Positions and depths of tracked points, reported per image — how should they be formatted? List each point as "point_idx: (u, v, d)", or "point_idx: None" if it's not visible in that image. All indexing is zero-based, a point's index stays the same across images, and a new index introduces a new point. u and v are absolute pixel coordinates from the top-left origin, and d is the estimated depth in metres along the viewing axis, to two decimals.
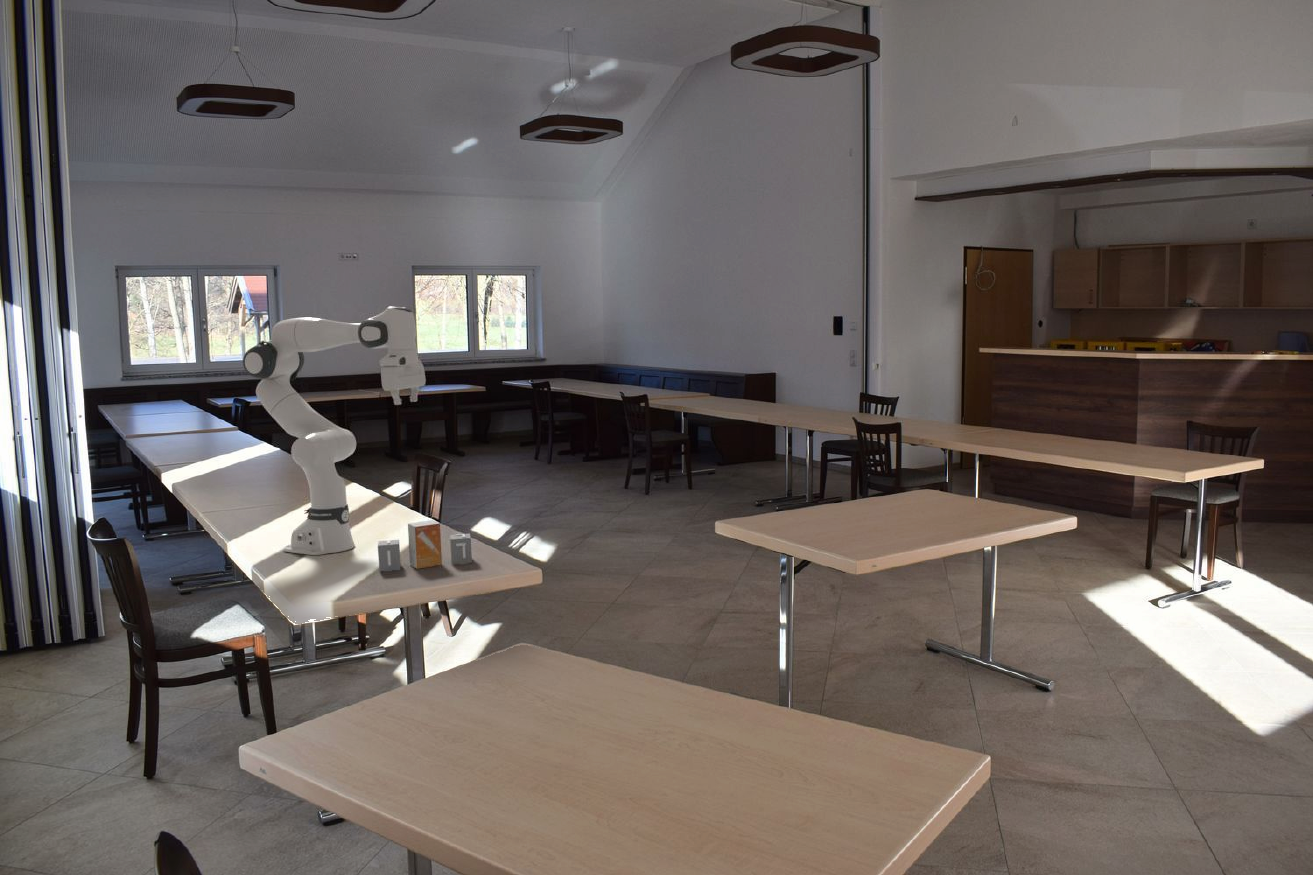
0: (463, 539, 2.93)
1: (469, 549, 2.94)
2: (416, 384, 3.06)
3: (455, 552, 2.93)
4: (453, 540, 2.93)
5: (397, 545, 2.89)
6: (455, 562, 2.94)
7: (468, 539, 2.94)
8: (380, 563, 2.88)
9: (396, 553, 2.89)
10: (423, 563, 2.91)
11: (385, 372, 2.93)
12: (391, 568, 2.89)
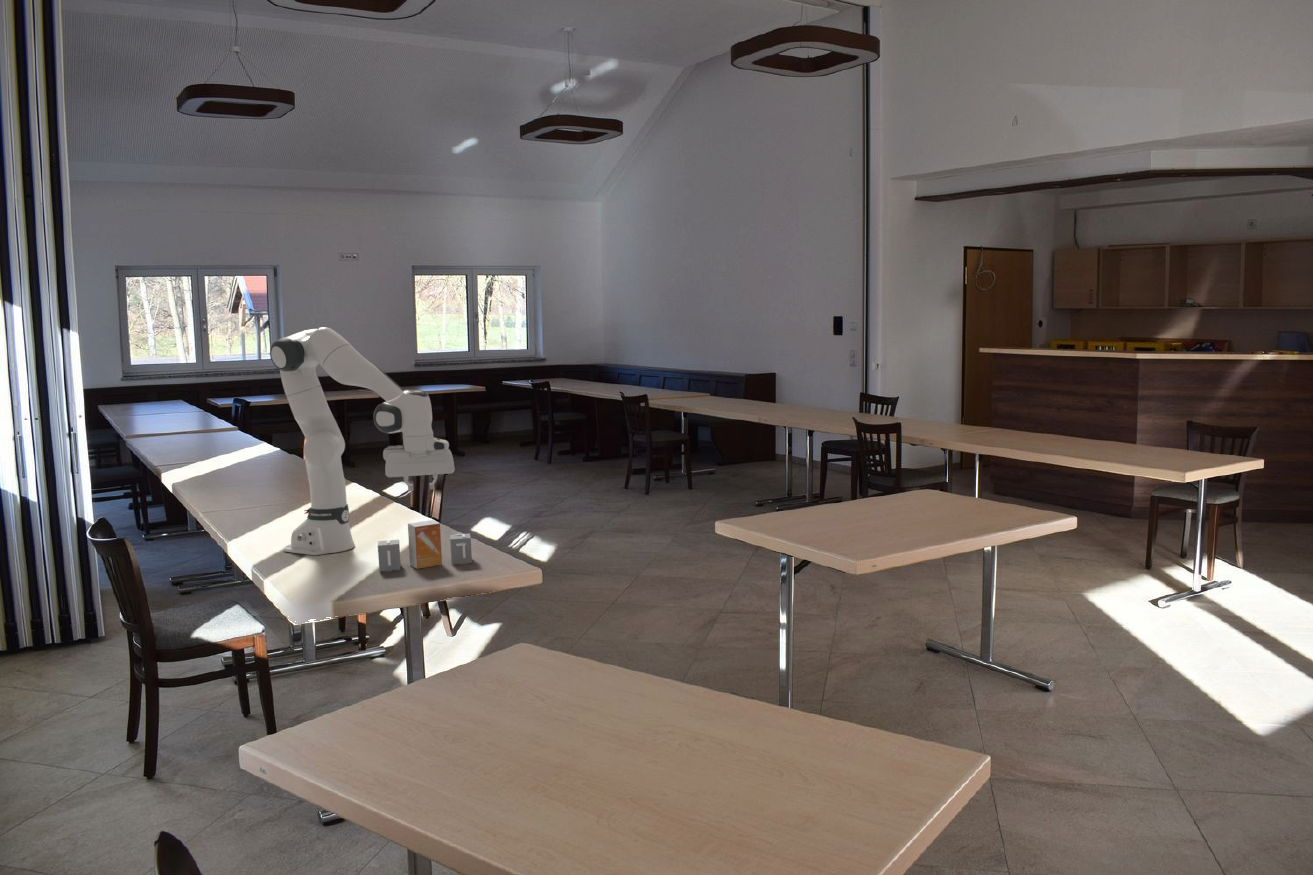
0: (463, 539, 2.93)
1: (469, 549, 2.94)
2: None
3: (455, 552, 2.93)
4: (453, 540, 2.93)
5: (397, 545, 2.89)
6: (455, 562, 2.94)
7: (468, 539, 2.94)
8: (380, 563, 2.88)
9: (396, 553, 2.89)
10: (423, 563, 2.91)
11: None
12: (391, 568, 2.89)
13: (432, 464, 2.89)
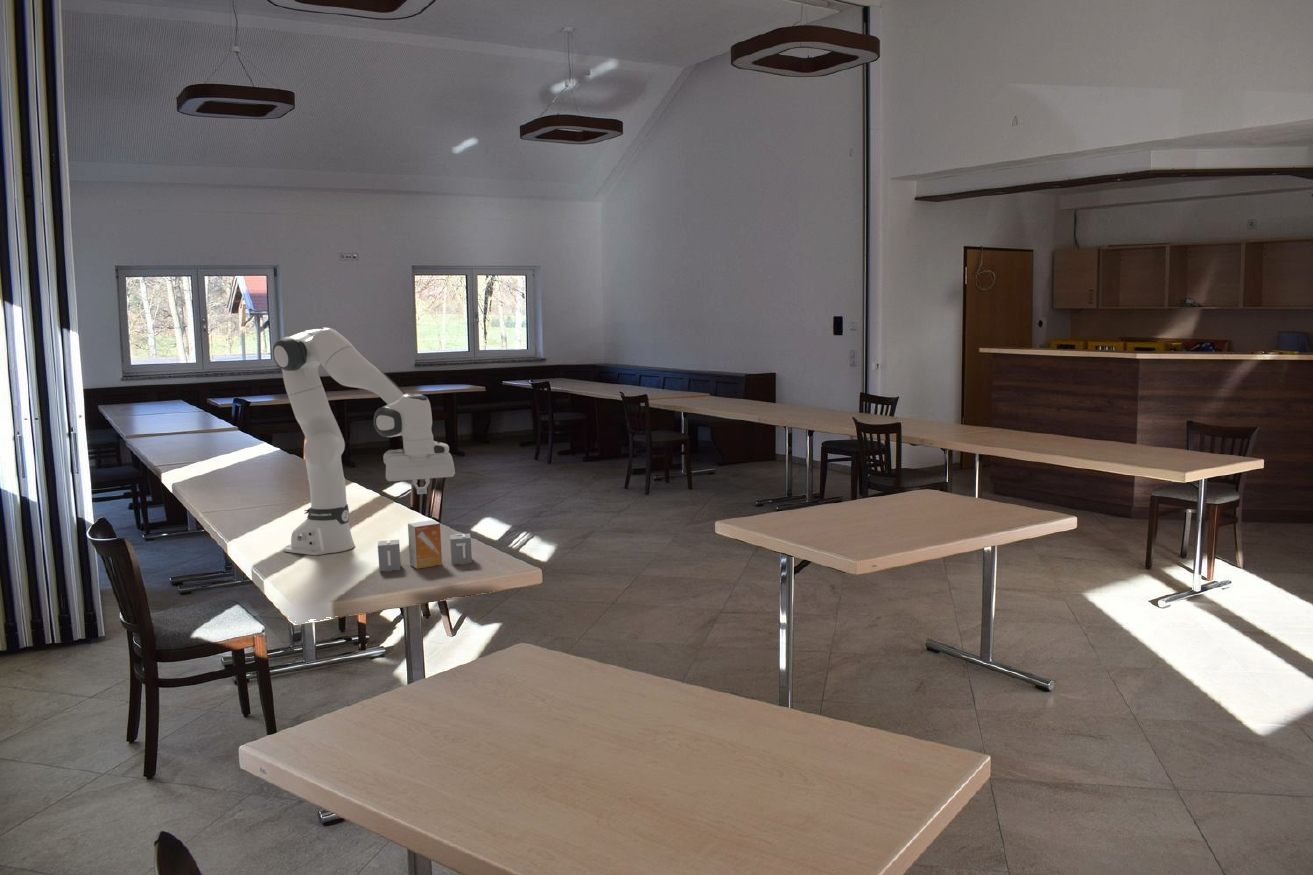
0: (463, 539, 2.93)
1: (469, 549, 2.94)
2: None
3: (455, 552, 2.93)
4: (453, 540, 2.93)
5: (397, 545, 2.89)
6: (455, 562, 2.94)
7: (468, 539, 2.94)
8: (380, 563, 2.88)
9: (396, 553, 2.89)
10: (423, 563, 2.91)
11: None
12: (391, 568, 2.89)
13: (432, 468, 2.90)
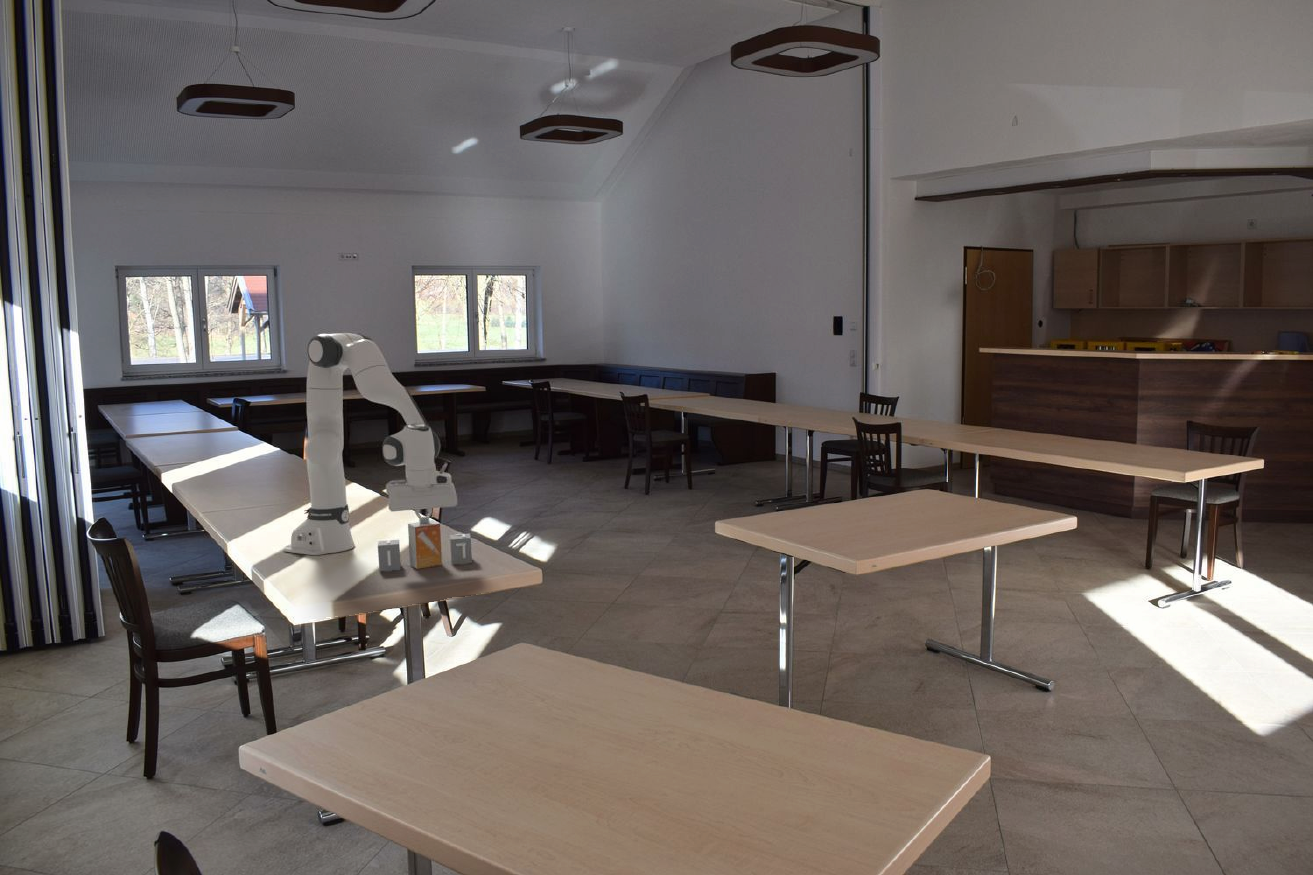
0: (463, 539, 2.93)
1: (469, 549, 2.94)
2: None
3: (455, 552, 2.93)
4: (453, 540, 2.93)
5: (397, 545, 2.89)
6: (455, 562, 2.94)
7: (468, 539, 2.94)
8: (380, 563, 2.88)
9: (396, 553, 2.89)
10: (423, 564, 2.91)
11: (454, 487, 2.93)
12: (391, 568, 2.89)
13: (434, 498, 2.91)
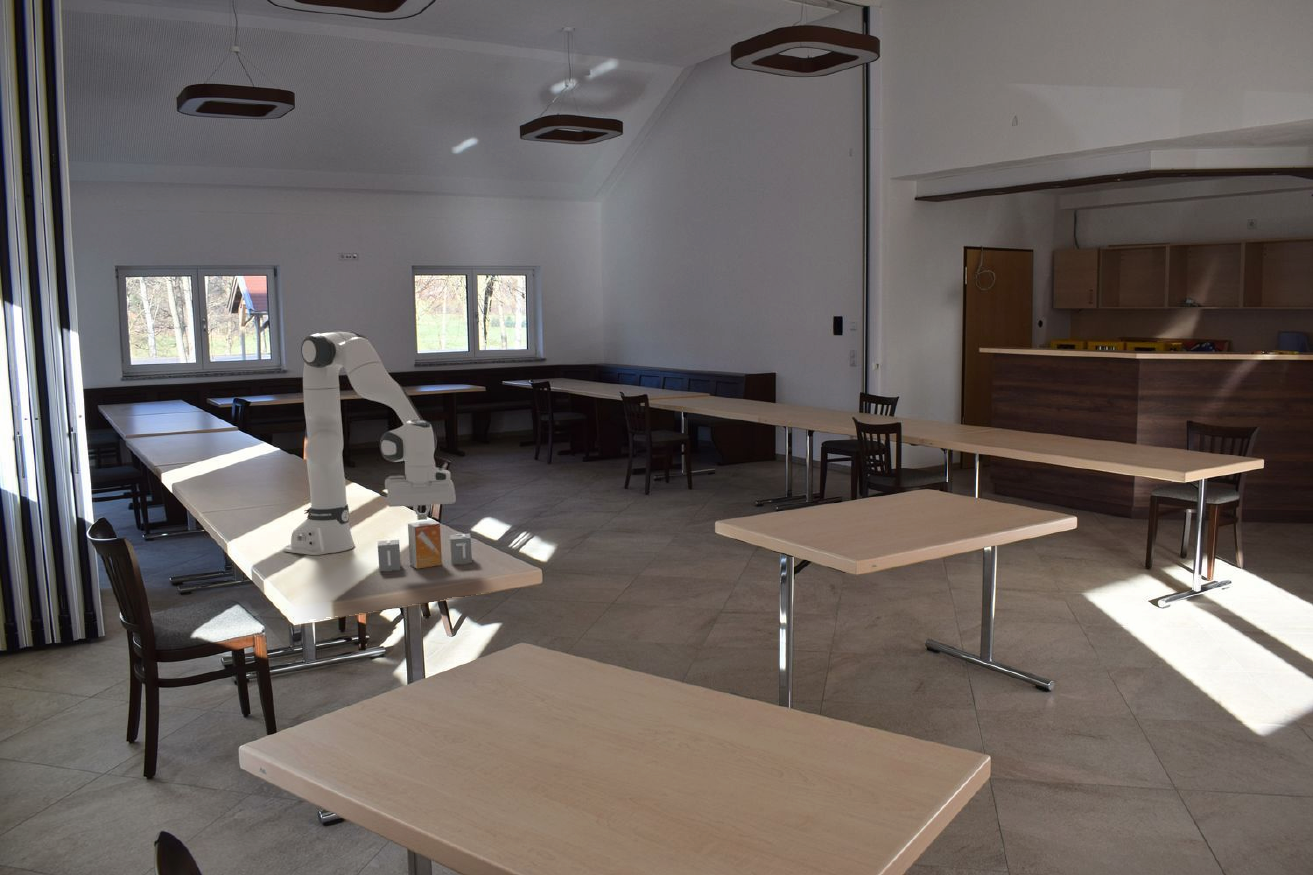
0: (463, 539, 2.93)
1: (469, 549, 2.94)
2: None
3: (455, 552, 2.93)
4: (453, 540, 2.93)
5: (397, 545, 2.89)
6: (455, 562, 2.94)
7: (468, 539, 2.94)
8: (380, 563, 2.88)
9: (396, 553, 2.89)
10: (423, 563, 2.91)
11: (453, 485, 2.93)
12: (391, 568, 2.89)
13: (433, 494, 2.91)
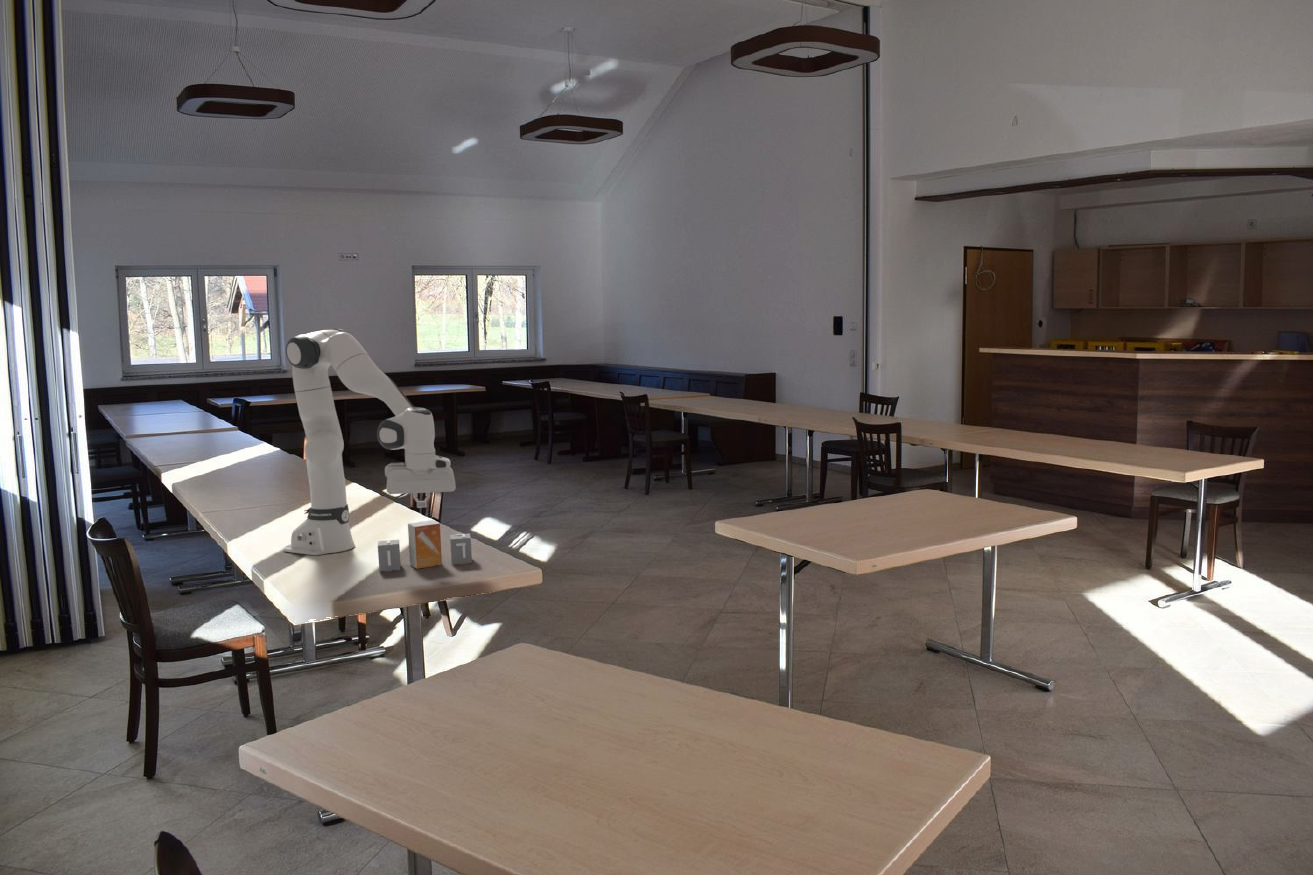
0: (463, 539, 2.93)
1: (469, 549, 2.94)
2: None
3: (455, 552, 2.93)
4: (453, 540, 2.93)
5: (397, 545, 2.89)
6: (455, 562, 2.94)
7: (468, 539, 2.94)
8: (380, 563, 2.88)
9: (396, 553, 2.89)
10: (423, 563, 2.91)
11: (453, 473, 2.93)
12: (391, 568, 2.89)
13: (433, 482, 2.90)
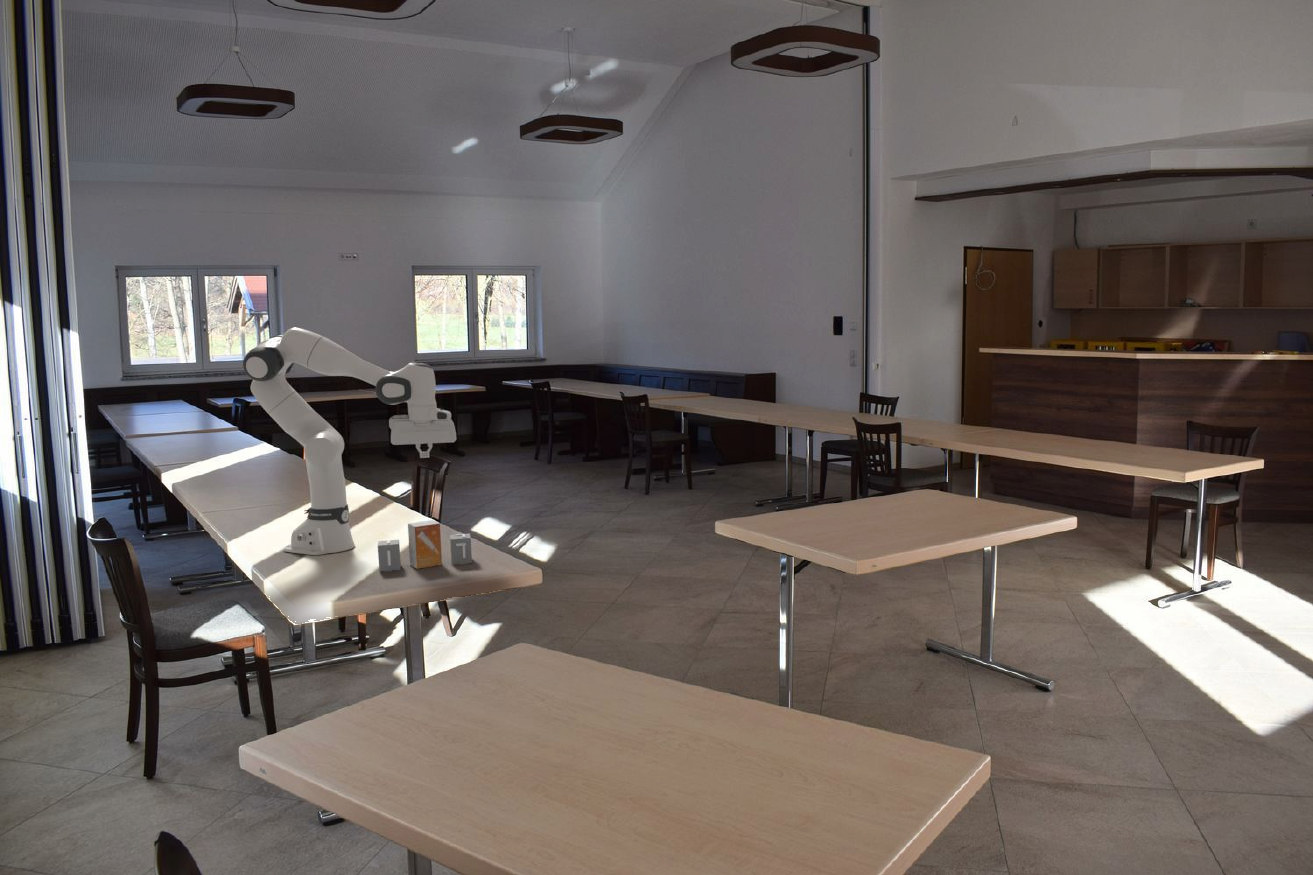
0: (463, 539, 2.93)
1: (469, 549, 2.94)
2: None
3: (455, 552, 2.93)
4: (453, 540, 2.93)
5: (397, 545, 2.89)
6: (455, 562, 2.94)
7: (468, 539, 2.94)
8: (380, 563, 2.88)
9: (396, 553, 2.89)
10: (423, 563, 2.91)
11: None
12: (391, 568, 2.89)
13: (435, 433, 3.06)
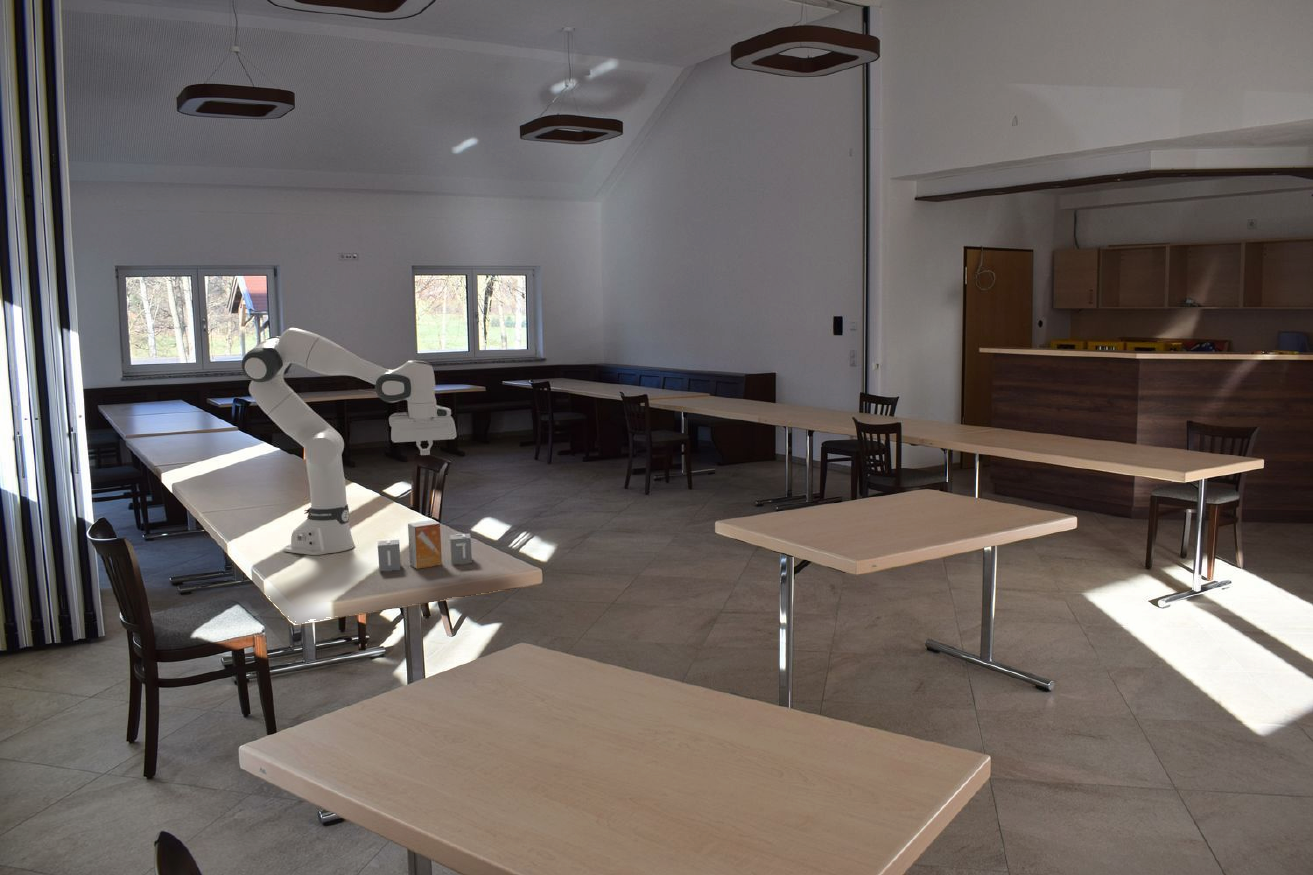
0: (463, 539, 2.93)
1: (469, 549, 2.94)
2: None
3: (455, 552, 2.93)
4: (453, 540, 2.93)
5: (397, 545, 2.89)
6: (455, 562, 2.94)
7: (468, 539, 2.94)
8: (380, 563, 2.88)
9: (396, 553, 2.89)
10: (423, 563, 2.91)
11: None
12: (391, 568, 2.89)
13: (435, 430, 3.07)
